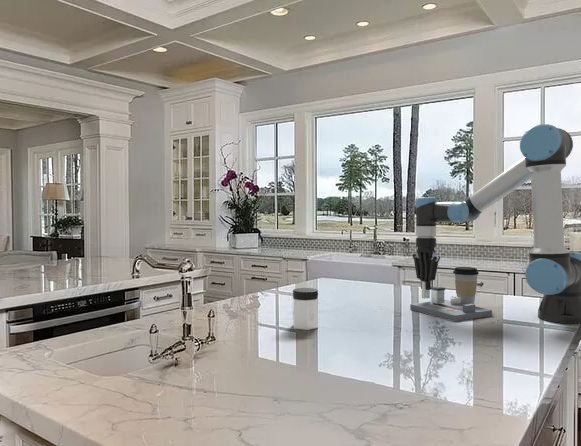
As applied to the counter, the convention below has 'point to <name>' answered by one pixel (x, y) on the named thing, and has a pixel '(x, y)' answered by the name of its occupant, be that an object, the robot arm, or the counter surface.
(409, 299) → the counter surface
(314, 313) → the jar
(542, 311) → the robot arm
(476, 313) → the console
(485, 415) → the counter surface
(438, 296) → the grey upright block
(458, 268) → the coffee cup
